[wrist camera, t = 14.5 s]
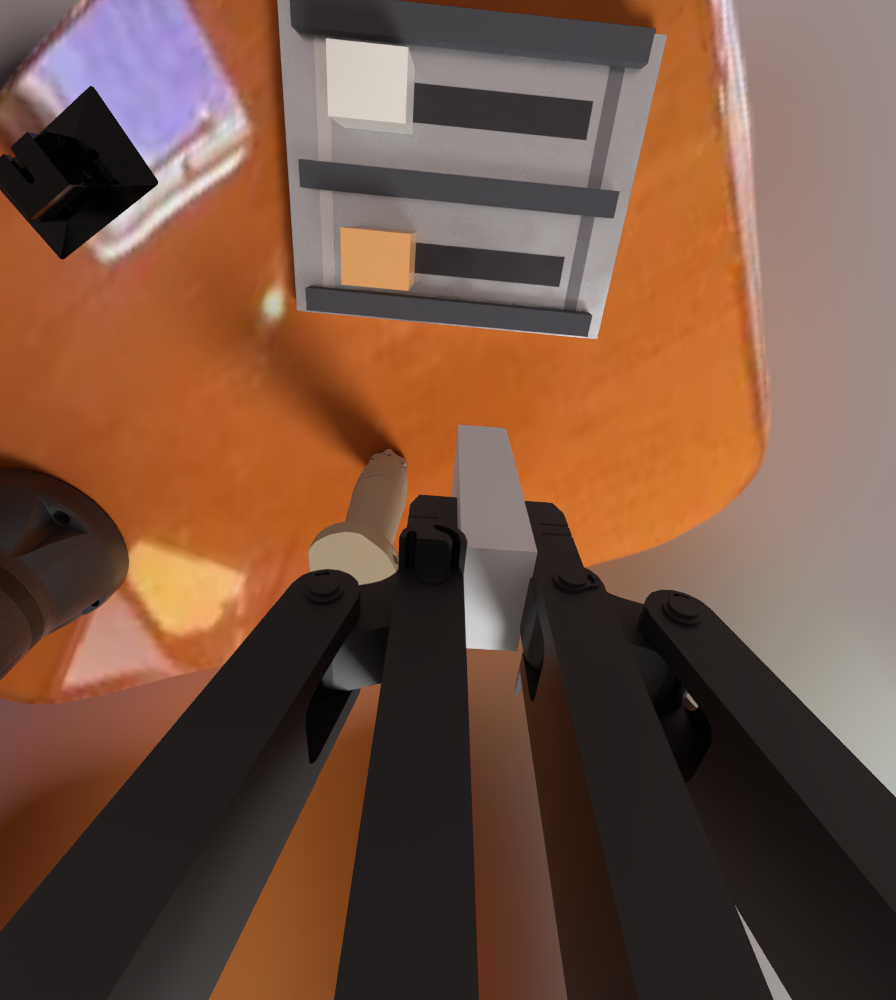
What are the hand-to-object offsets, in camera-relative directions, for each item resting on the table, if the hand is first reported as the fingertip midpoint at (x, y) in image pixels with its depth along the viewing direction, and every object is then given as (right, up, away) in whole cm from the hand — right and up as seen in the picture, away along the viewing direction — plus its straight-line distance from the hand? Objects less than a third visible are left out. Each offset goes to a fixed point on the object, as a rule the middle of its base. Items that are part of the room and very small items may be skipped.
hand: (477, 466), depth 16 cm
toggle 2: (-5, +15, +16) cm, 23 cm away
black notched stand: (-25, +20, +17) cm, 36 cm away
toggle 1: (-5, +22, +12) cm, 25 cm away
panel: (0, +19, +16) cm, 25 cm away
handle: (-6, +2, +26) cm, 27 cm away
